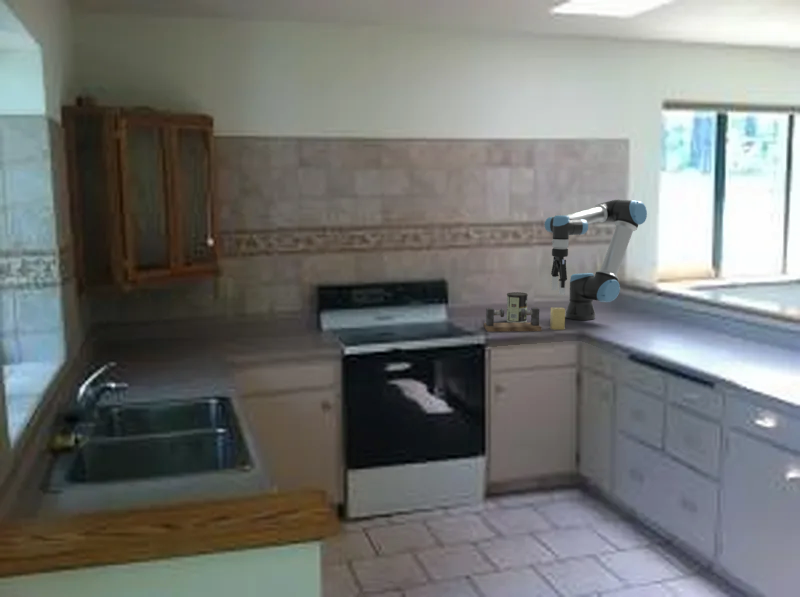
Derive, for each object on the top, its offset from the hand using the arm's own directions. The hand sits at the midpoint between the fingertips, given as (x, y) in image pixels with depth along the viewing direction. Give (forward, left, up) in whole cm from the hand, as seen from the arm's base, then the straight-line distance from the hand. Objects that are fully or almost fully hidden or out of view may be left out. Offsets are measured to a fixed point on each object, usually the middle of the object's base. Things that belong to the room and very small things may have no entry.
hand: (558, 292), depth 383 cm
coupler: (0, 0, -18) cm, 18 cm away
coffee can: (+16, -19, -18) cm, 31 cm away
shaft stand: (+22, 0, -18) cm, 28 cm away
